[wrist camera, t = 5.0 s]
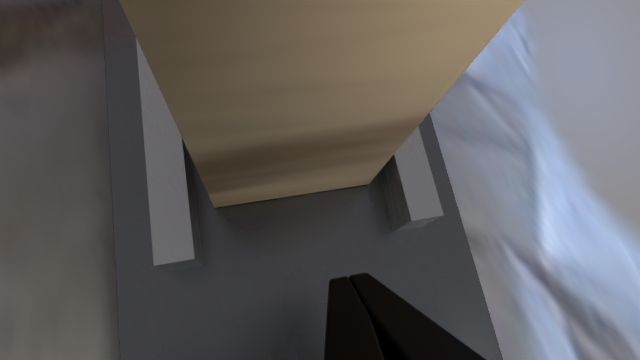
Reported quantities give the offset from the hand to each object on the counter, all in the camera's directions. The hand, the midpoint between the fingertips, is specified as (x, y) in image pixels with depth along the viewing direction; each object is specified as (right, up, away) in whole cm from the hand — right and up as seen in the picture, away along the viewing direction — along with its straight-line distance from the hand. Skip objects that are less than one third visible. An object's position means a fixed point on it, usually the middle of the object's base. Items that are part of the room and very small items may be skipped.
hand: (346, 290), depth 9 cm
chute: (-2, +4, +9) cm, 10 cm away
